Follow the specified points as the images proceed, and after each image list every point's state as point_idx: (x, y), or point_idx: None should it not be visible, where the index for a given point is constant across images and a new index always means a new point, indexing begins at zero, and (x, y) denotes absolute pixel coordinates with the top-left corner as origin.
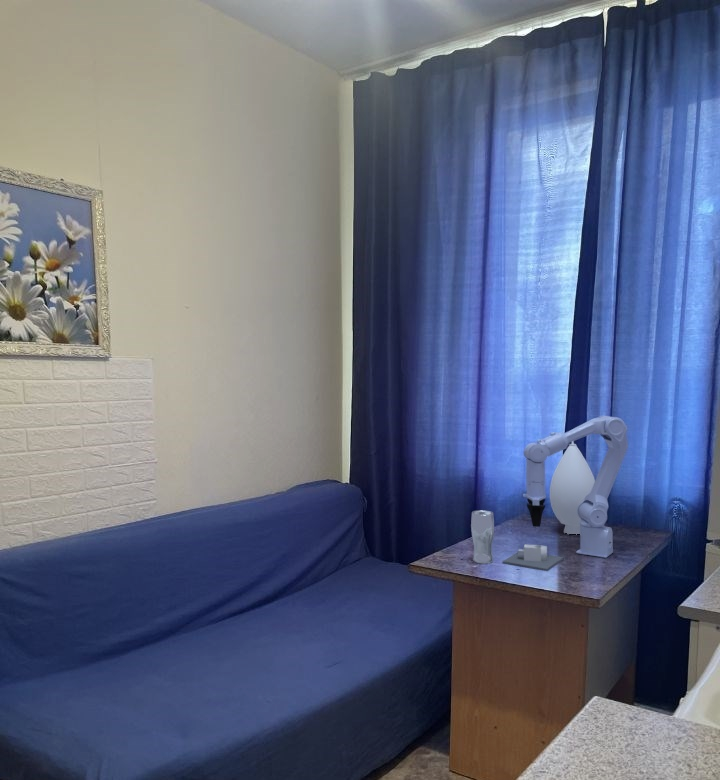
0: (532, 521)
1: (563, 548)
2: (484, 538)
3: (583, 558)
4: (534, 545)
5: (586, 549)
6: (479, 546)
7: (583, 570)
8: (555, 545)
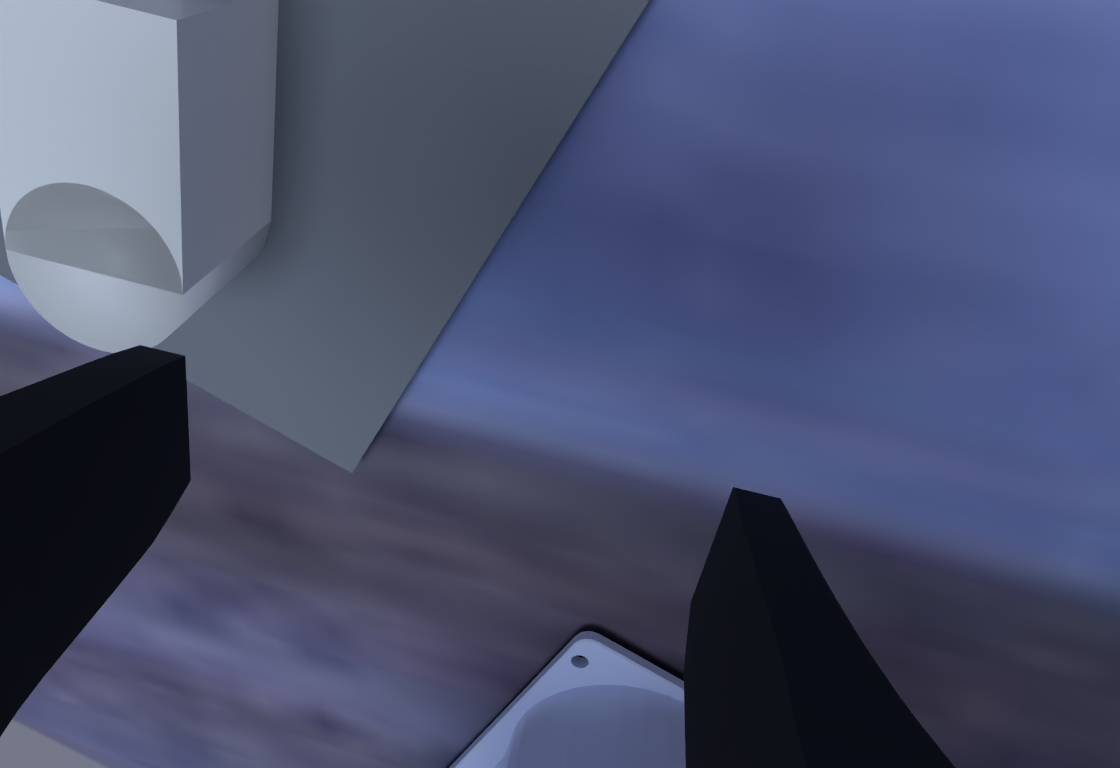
0: (29, 395)
1: None
2: None
3: (421, 628)
4: (146, 189)
5: (531, 732)
6: None
7: None
8: (968, 538)
